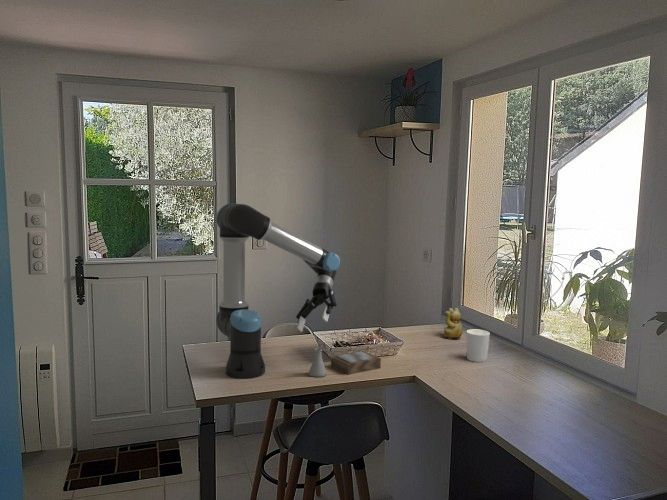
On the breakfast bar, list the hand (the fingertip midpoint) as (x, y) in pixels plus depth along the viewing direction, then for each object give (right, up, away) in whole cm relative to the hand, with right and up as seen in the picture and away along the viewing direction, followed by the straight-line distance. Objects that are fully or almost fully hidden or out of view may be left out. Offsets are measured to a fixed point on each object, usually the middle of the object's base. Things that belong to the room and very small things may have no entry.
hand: (311, 325), depth 216 cm
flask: (+3, -18, -7) cm, 20 cm away
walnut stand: (+18, -17, +3) cm, 25 cm away
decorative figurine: (+68, -14, +52) cm, 87 cm away
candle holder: (+70, -17, +18) cm, 75 cm away
